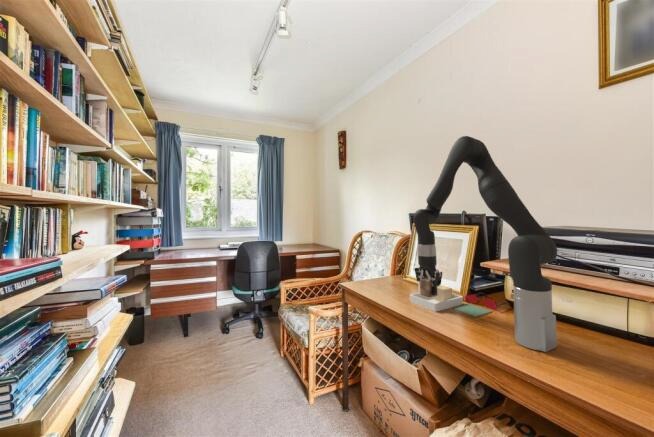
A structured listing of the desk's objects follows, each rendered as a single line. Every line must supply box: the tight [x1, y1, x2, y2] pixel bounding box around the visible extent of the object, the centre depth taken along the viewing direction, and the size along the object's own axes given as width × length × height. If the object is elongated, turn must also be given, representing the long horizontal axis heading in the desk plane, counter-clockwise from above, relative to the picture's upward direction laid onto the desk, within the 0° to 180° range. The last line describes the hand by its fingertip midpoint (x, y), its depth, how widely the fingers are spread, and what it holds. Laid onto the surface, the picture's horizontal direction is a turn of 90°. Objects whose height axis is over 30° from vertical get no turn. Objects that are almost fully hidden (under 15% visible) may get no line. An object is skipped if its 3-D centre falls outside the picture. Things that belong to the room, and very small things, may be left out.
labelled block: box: [419, 278, 438, 297], centre depth 115 cm, size 5×5×7 cm
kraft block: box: [435, 285, 453, 302], centre depth 120 cm, size 5×5×6 cm
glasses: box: [463, 292, 509, 311], centre depth 115 cm, size 14×16×5 cm
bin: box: [409, 291, 464, 313], centre depth 118 cm, size 15×17×4 cm
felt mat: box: [452, 303, 493, 318], centre depth 107 cm, size 10×10×1 cm
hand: (428, 292), depth 115 cm, fingers closed on labelled block, 5 cm apart
